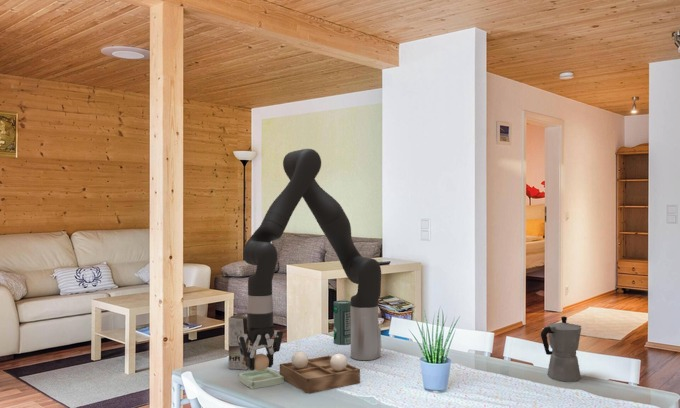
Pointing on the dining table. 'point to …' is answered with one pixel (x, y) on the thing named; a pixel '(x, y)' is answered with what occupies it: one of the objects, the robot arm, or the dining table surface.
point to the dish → (260, 378)
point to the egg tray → (319, 375)
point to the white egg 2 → (338, 362)
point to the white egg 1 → (299, 360)
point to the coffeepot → (562, 350)
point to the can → (342, 322)
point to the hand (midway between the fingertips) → (260, 368)
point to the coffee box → (237, 328)
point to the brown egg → (261, 362)
